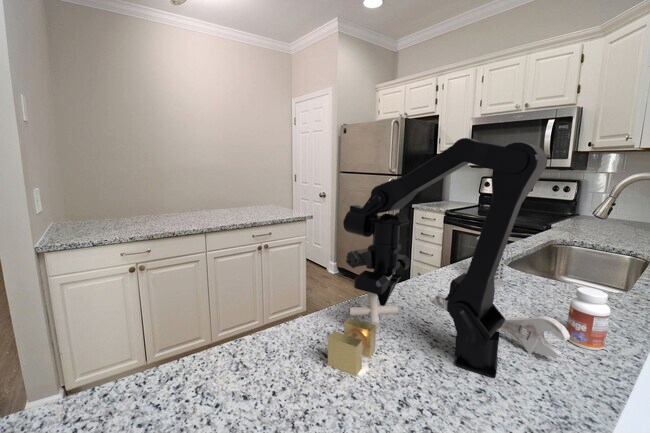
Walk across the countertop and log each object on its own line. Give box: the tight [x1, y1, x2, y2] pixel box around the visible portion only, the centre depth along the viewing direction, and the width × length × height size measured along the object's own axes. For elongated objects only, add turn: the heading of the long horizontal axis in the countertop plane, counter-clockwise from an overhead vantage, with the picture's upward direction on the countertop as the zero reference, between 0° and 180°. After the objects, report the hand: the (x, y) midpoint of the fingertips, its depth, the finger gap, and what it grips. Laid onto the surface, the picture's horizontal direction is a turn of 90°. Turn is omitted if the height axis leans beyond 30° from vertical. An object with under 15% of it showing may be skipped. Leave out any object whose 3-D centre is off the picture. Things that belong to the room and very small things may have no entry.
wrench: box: [433, 294, 570, 358], centre depth 67 cm, size 8×2×30 cm
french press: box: [476, 236, 513, 289], centre depth 93 cm, size 10×12×25 cm
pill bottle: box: [565, 286, 611, 351], centre depth 62 cm, size 6×6×11 cm
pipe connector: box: [349, 292, 399, 335], centre depth 65 cm, size 10×10×10 cm
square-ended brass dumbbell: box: [327, 317, 377, 377], centre depth 57 cm, size 8×6×6 cm, turn 148°
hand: (382, 305), depth 71 cm, fingers closed
